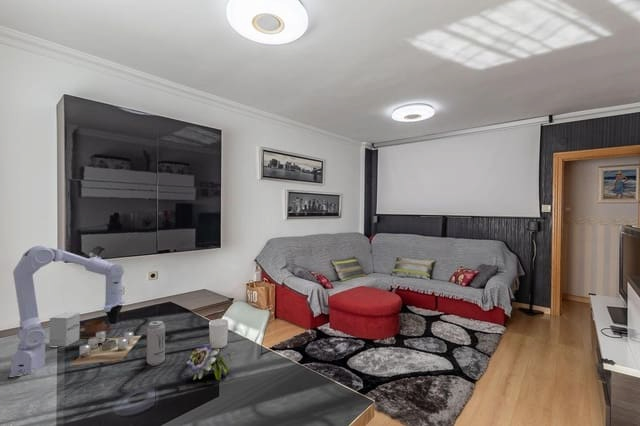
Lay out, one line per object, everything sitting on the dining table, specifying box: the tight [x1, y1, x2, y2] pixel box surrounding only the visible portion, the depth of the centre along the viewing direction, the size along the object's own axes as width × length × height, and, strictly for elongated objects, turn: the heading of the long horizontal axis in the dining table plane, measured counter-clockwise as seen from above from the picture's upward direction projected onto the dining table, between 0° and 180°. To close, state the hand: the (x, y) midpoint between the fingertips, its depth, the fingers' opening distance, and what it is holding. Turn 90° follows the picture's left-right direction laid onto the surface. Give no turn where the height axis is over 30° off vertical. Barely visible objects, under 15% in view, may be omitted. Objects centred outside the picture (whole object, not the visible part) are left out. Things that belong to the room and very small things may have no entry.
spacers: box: [79, 331, 134, 358], centre depth 127 cm, size 17×15×4 cm
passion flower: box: [186, 341, 233, 382], centre depth 107 cm, size 13×12×14 cm
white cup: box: [208, 318, 229, 349], centre depth 130 cm, size 8×8×10 cm
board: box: [69, 335, 142, 366], centre depth 125 cm, size 24×17×1 cm
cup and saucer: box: [79, 319, 112, 339], centre depth 141 cm, size 12×12×6 cm
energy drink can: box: [146, 320, 166, 367], centre depth 115 cm, size 6×6×15 cm
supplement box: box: [48, 312, 81, 347], centre depth 131 cm, size 7×7×13 cm
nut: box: [102, 340, 116, 351], centre depth 126 cm, size 5×4×2 cm
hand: (113, 323), depth 130 cm, fingers closed
